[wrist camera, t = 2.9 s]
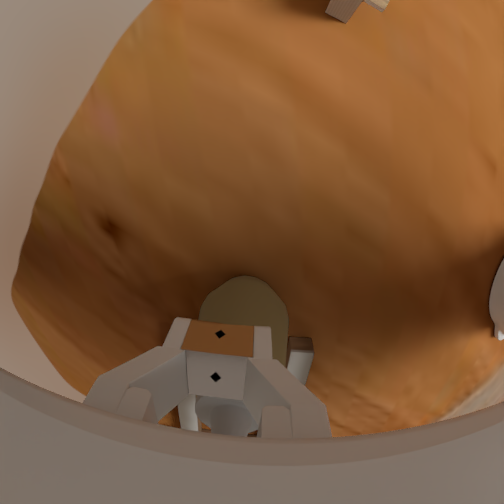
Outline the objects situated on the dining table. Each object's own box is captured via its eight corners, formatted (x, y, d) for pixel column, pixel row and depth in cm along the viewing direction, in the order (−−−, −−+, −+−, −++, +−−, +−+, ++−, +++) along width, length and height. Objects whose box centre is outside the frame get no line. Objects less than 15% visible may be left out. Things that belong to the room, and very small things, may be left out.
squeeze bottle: (250, 345, 31) (236, 496, 14) (191, 301, 29) (128, 450, 13) (303, 298, 29) (333, 460, 12) (242, 247, 27) (206, 401, 10)
